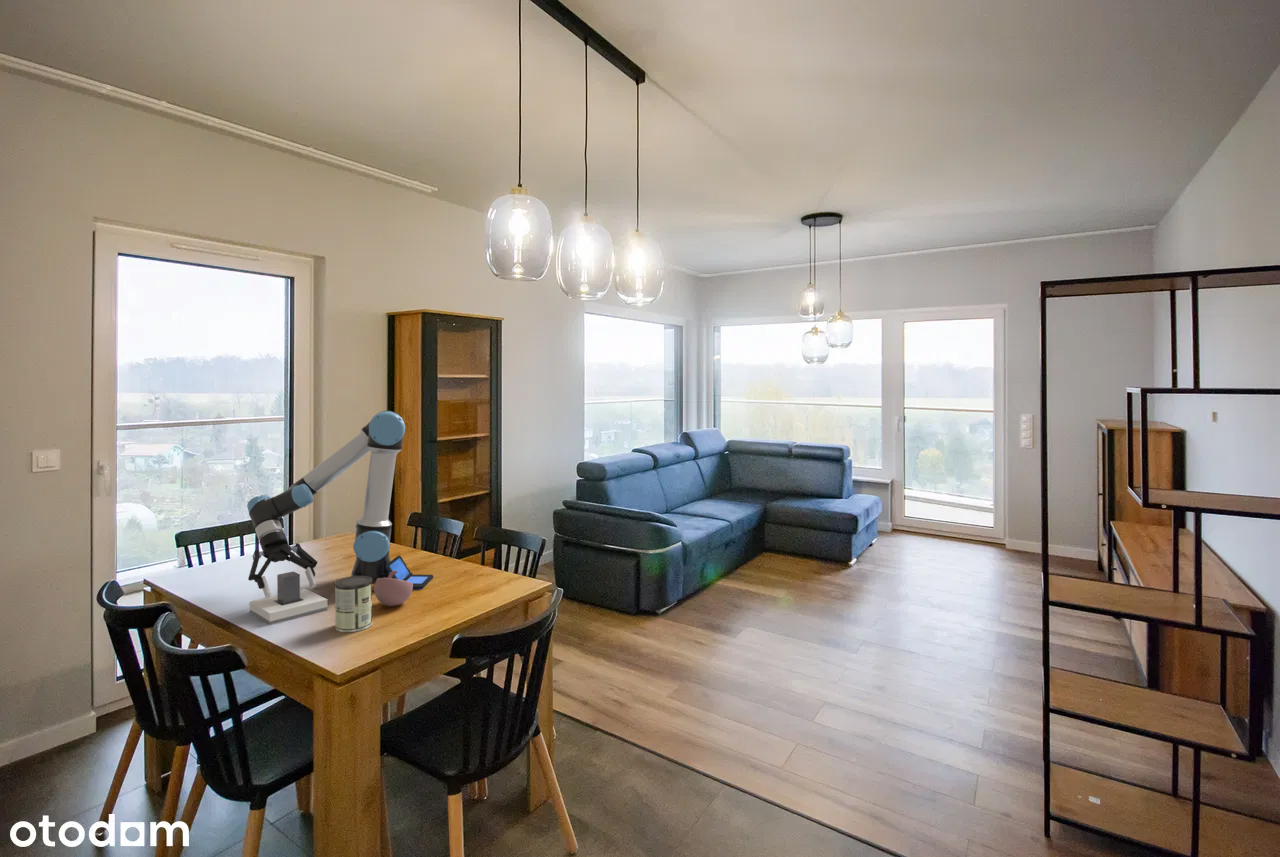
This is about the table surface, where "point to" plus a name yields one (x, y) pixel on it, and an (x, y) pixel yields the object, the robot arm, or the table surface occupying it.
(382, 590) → the mortar and pestle
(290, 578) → the plug
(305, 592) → the socket
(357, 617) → the coffee can
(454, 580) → the table surface
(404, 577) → the handheld game console
